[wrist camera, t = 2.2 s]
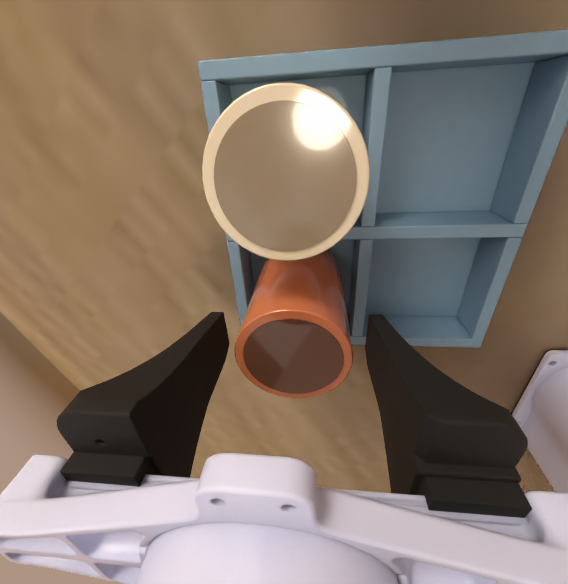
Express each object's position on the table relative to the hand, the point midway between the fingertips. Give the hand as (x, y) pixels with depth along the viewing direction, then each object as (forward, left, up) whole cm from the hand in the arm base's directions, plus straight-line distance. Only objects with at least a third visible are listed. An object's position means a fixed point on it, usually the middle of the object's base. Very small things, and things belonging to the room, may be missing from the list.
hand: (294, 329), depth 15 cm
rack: (+4, -4, -6) cm, 8 cm away
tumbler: (0, 0, -6) cm, 6 cm away
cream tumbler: (+7, 0, -6) cm, 9 cm away
